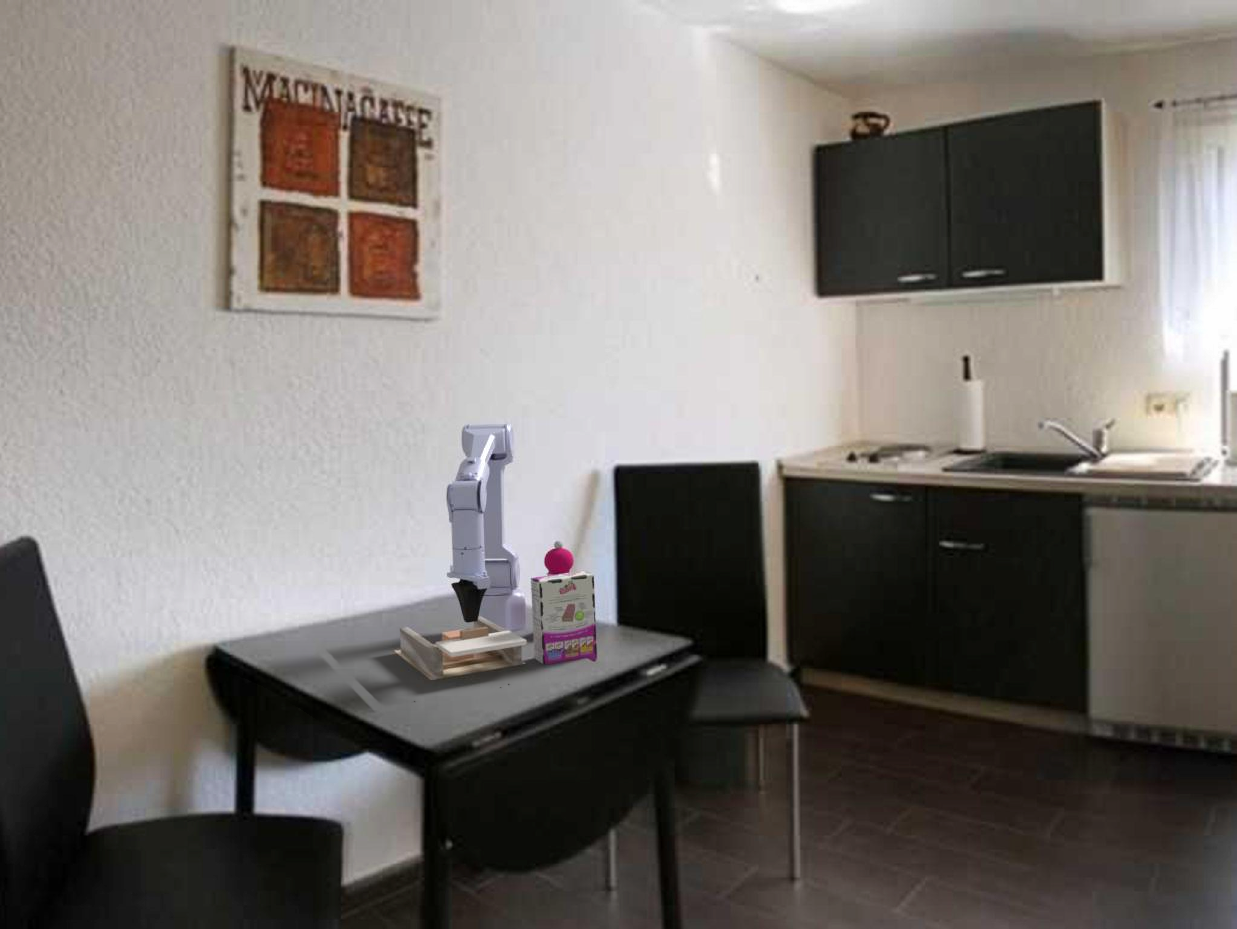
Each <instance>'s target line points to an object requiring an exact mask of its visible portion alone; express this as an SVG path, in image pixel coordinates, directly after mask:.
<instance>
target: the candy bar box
mask: <svg viewBox="0 0 1237 929" xmlns="http://www.w3.org/2000/svg"><path fill="white" fill-rule="evenodd" d="M530 587H531V588H530V591H531V611H532V613H531V614H532V634H533V638H532V639H533V653H534V656H533V657H534V660H536V661H537V662H539V663H541V664H542V665H548V664H554V663H561V662H565V661H566V662H567V661H571V660H578V659H582V658H583V659H585V658H586V659H588V660H589V661H596V660H598V647H597V646H598V645H597V643H598V642H597V625H596V624H597V623H596V596H595V575H594V574H593V573H590V572H588V571H585V570H580V571H575V572H574V571H573V572H572V571H571V573H564V574H557V575H549V576H548V575H544V576H536V577H531V578H530Z"/></svg>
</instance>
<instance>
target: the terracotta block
mask: <svg viewBox="0 0 1237 929" xmlns="http://www.w3.org/2000/svg"><path fill="white" fill-rule="evenodd" d="M461 630H466V629H465V628H463V629H456V630H450V631H444V632H441V641H445V640H452V639H458V638H460V631H461ZM443 656H444V657H445V658H446V659H448V660H449V661H457V660H463V659H469V658H474V653H473V654H467V655H461V656H455V657H450V656H449V655H448V654H446V653H445V652H443Z"/></svg>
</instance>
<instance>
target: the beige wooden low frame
mask: <svg viewBox="0 0 1237 929" xmlns="http://www.w3.org/2000/svg"><path fill="white" fill-rule="evenodd" d="M481 627H487V628H488V633H489V634H490V633H496V632H503V631H507V630H505V629H503V628H502V627H500V626H498V625H496V624H494V623H492V622H491V621H489V620H487V619H485V618H483V617H481V616H479V617H478V621H475V622H473V629H474V628H481ZM399 637H400V638H399V640H400V649H396V650H394V652H395V653H396V654H397V655H398V656H400V657H401V658H402V659H404V661H406V662H407V663H408V664H410V665H411V666H412V667H413V668H415V669H417V671H418V672H420V673H421V674H422V675H424V676H425V677H426V678H428V680H430V681H435V680H441V679H447V678H451V677H457V676H463V675H469V674H474V673H480V672H486V671H490V670H496V669H497V670H498V669H503V668H508V667H509V668H510V667H513V666H519V665H524V664H525V665H526V662H524V661H523V656H522V655H523V652H522V651H523V650H522V647H523V645H522V646H516V647H510V648H504V649H498V650H492V651H485V652H479V653H474V658H469V659H463V660H457V661H449V660H448V659H446V658H445V657H444V656H443V651H442V650H440V649H439V648H437V647H436V643H432V642H430V641H429V640H427V639H426V638H424V637H423V636H422V635H420V634H419V633H418V632H416V631H414V630H413V629H411V628H410V627H409V626H405V627H399Z"/></svg>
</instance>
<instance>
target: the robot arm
mask: <svg viewBox="0 0 1237 929" xmlns="http://www.w3.org/2000/svg"><path fill="white" fill-rule="evenodd" d="M514 438H515V437H514V428H513V426H512V425H511V424H510V422H509V423H508V422H507V423H497V424H496V423H494V424H492V423H491V424H489V423H488V424H487V423H486V424H469V423H466V424H464V426H463V427H462V429H461V448H462V451H463V453H464V455H465V457H466V458H465V459H463V460H462V461H461V462H460V464H459V466H458V470H457V474H456V476H455V479H454V480H453V481H452V483H449V484H447V486H446V493H445V494H446V499H445V500H446V507H447V510H448V520H449V521H448V522H449V523H451V547H452V548H451V549H452V550H451V552H452V564H450V566H449V568H450V569H449V570H450V572H446V577H447V578H450V579H454V578H455V579H459V580H458V581H456V582H451V584H450V585H451V588H452V589H453V591H454V593H455V595H456V598H457V600H458V602H459V606H460V610H461V614H462V618H463V621H464V622H465V623H468V624H469V623H474V622H475V621H478V617H479V616H481V617H483V618H485V619H487V620H489V621H491V622H492V623H494V624H496V625H498V626H500V627H502V628H503V629H505V630H507V631H511V632H514V631H519V630H520V631H521V630H526V629H527V607H526V605H527V603H526V598H525V595H524V592H523V591H522V590H521V589H520V588H519V586H520V581H521V579H520V578H521V573H520V572H521V570H520V563H519V554H518V553H517V551H515V550H514V549H513V548H512V547H510V546H509V545H508V544H506V543H505V542H506V541H505V538H506V536H505V535H506V534H505V491H504V488H505V487H504V484H505V483H504V475H505V474H504V472H505V468H506V465H509V464H511V463H513V462H514V456H515V453H514V452H515V451H514V450H515V447H514V443H515V442H514Z"/></svg>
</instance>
